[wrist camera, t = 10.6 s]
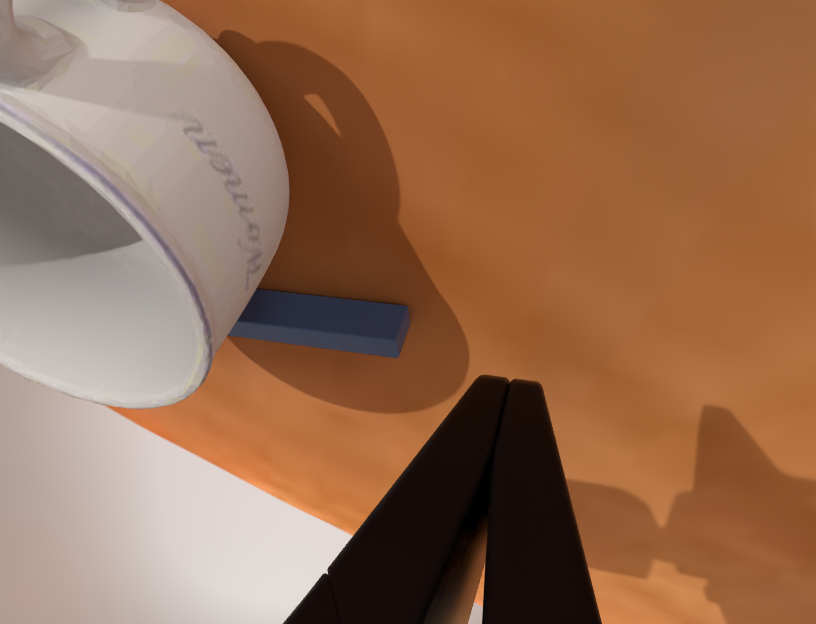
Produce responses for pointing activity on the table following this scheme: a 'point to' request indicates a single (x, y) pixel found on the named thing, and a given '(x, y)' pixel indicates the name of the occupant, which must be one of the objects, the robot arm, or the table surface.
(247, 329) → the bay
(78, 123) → the teacup
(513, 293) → the table surface
